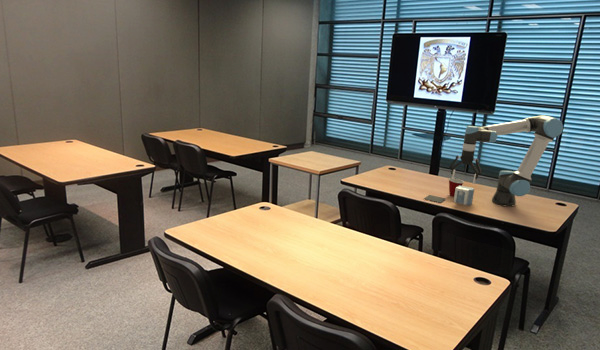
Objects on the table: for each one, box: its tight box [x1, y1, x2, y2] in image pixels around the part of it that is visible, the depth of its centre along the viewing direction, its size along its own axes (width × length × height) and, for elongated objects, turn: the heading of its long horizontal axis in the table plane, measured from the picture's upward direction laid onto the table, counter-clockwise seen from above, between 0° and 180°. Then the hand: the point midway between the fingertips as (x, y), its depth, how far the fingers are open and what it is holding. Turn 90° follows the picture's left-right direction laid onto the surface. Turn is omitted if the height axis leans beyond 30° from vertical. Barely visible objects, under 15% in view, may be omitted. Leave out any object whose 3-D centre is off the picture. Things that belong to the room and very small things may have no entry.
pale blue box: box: [453, 187, 470, 206], centre depth 288 cm, size 8×4×10 cm, turn 56°
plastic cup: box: [448, 177, 465, 198], centre depth 311 cm, size 11×11×12 cm
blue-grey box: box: [455, 185, 475, 207], centre depth 292 cm, size 10×16×11 cm, turn 146°
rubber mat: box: [423, 194, 447, 204], centre depth 302 cm, size 12×12×1 cm
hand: (463, 181), depth 285 cm, fingers open, 13 cm apart
